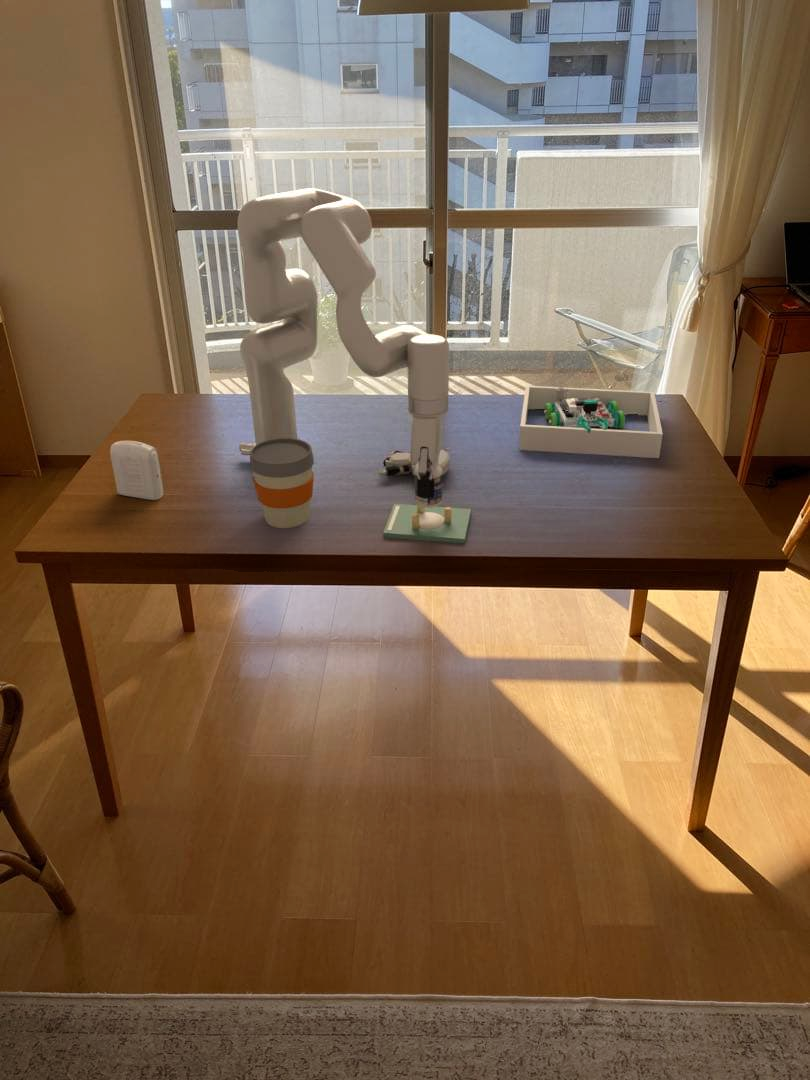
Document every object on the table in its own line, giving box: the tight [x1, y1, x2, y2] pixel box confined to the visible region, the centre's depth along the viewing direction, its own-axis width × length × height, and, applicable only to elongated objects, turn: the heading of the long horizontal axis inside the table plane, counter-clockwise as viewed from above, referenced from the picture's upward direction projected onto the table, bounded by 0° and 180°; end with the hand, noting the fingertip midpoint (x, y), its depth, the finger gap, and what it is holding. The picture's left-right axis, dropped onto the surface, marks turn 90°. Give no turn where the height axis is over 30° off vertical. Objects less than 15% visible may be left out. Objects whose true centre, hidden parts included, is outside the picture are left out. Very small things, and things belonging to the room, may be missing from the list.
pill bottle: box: [414, 457, 443, 508], centre depth 170 cm, size 5×5×10 cm
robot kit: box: [543, 386, 626, 433], centre depth 211 cm, size 19×25×9 cm
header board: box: [382, 503, 472, 544], centre depth 174 cm, size 16×12×4 cm
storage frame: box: [518, 385, 664, 459], centre depth 212 cm, size 32×26×6 cm
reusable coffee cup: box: [249, 438, 315, 529], centre depth 175 cm, size 13×13×15 cm
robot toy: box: [379, 447, 452, 477], centre depth 194 cm, size 12×4×15 cm
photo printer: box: [109, 440, 164, 501], centre depth 185 cm, size 10×4×12 cm, turn 72°
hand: (428, 488), depth 171 cm, fingers closed on pill bottle, 5 cm apart
